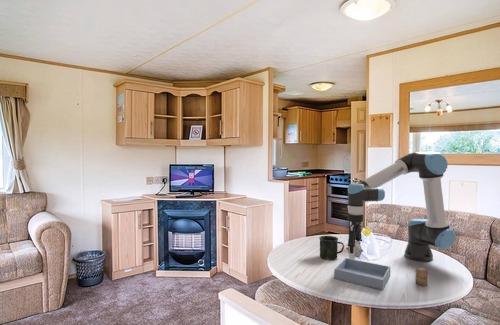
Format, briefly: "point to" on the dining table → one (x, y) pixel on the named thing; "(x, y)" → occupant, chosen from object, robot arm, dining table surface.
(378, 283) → the tote
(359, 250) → the game die
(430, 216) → the robot arm
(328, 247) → the mug
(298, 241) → the dining table surface
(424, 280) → the walnut cylinder
